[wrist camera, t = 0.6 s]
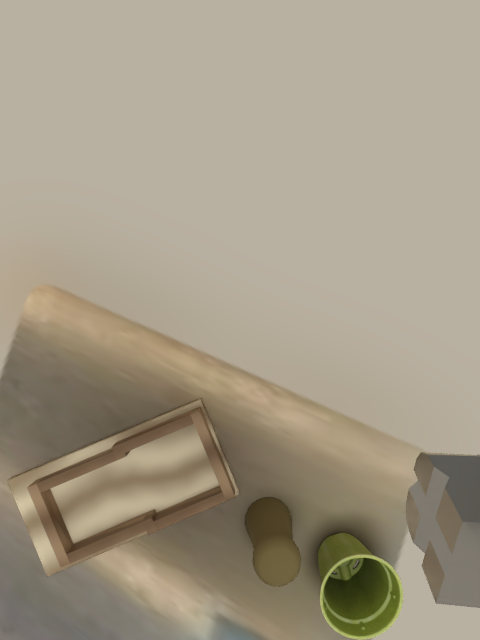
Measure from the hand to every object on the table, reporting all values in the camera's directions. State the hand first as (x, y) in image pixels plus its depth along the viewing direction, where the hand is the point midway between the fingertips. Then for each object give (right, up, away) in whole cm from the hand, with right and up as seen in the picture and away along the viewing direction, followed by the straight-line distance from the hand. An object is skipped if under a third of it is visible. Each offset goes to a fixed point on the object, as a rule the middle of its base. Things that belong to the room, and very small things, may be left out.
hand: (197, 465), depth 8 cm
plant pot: (+14, -28, +49) cm, 58 cm away
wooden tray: (-14, -18, +48) cm, 53 cm away
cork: (+4, -23, +49) cm, 54 cm away
